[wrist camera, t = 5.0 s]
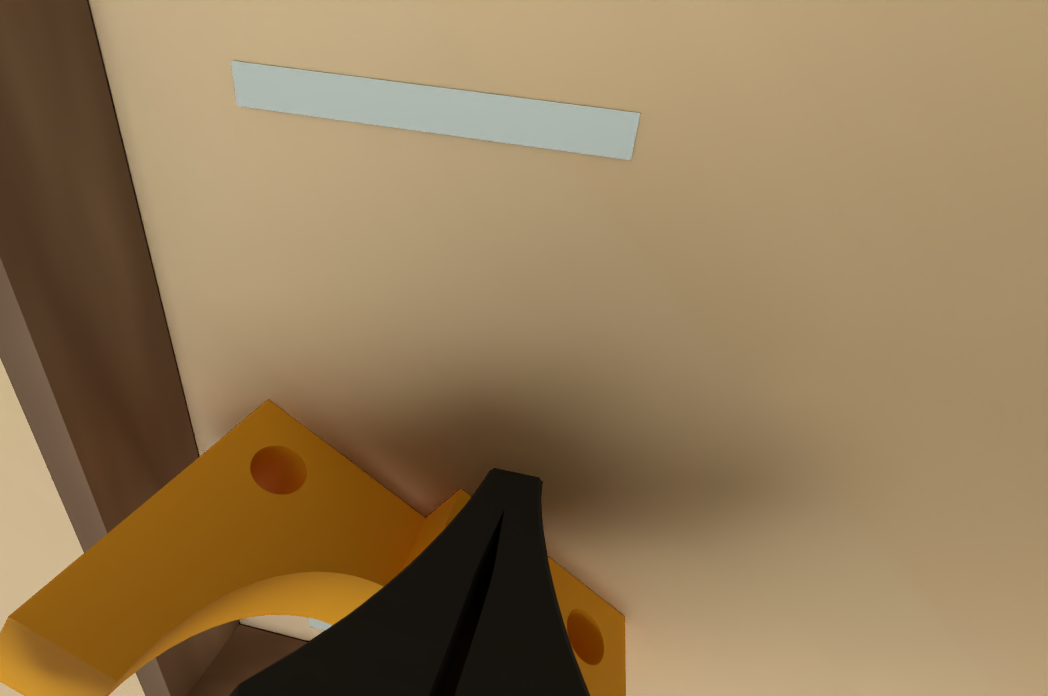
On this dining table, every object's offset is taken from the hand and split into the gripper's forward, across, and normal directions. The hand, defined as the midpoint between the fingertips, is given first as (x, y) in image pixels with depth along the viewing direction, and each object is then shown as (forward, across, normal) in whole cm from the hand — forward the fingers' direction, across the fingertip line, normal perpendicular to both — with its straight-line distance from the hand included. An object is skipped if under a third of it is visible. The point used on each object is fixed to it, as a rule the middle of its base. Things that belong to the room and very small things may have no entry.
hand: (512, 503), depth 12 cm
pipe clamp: (+1, +2, +3) cm, 4 cm away
